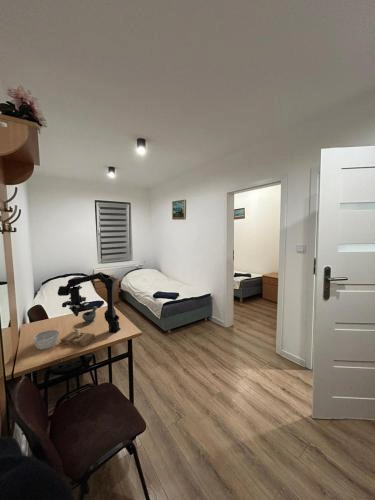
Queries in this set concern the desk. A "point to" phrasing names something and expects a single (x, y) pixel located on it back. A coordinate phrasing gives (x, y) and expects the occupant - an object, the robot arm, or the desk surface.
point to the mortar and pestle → (89, 316)
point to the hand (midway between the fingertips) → (76, 316)
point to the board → (81, 341)
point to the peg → (77, 333)
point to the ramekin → (46, 339)
